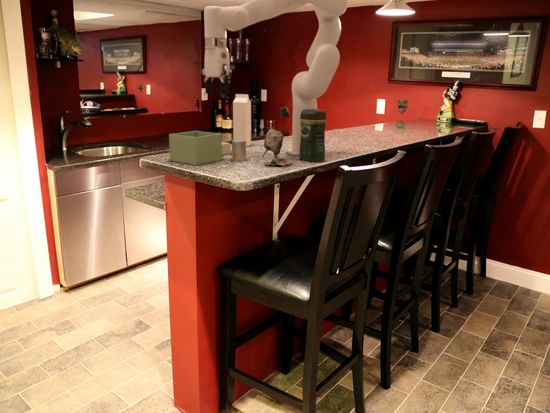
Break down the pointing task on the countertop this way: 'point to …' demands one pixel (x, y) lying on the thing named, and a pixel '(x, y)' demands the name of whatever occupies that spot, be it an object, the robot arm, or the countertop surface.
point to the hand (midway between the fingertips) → (216, 94)
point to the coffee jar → (312, 135)
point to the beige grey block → (225, 148)
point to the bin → (195, 147)
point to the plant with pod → (276, 141)
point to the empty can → (238, 150)
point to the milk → (242, 118)
